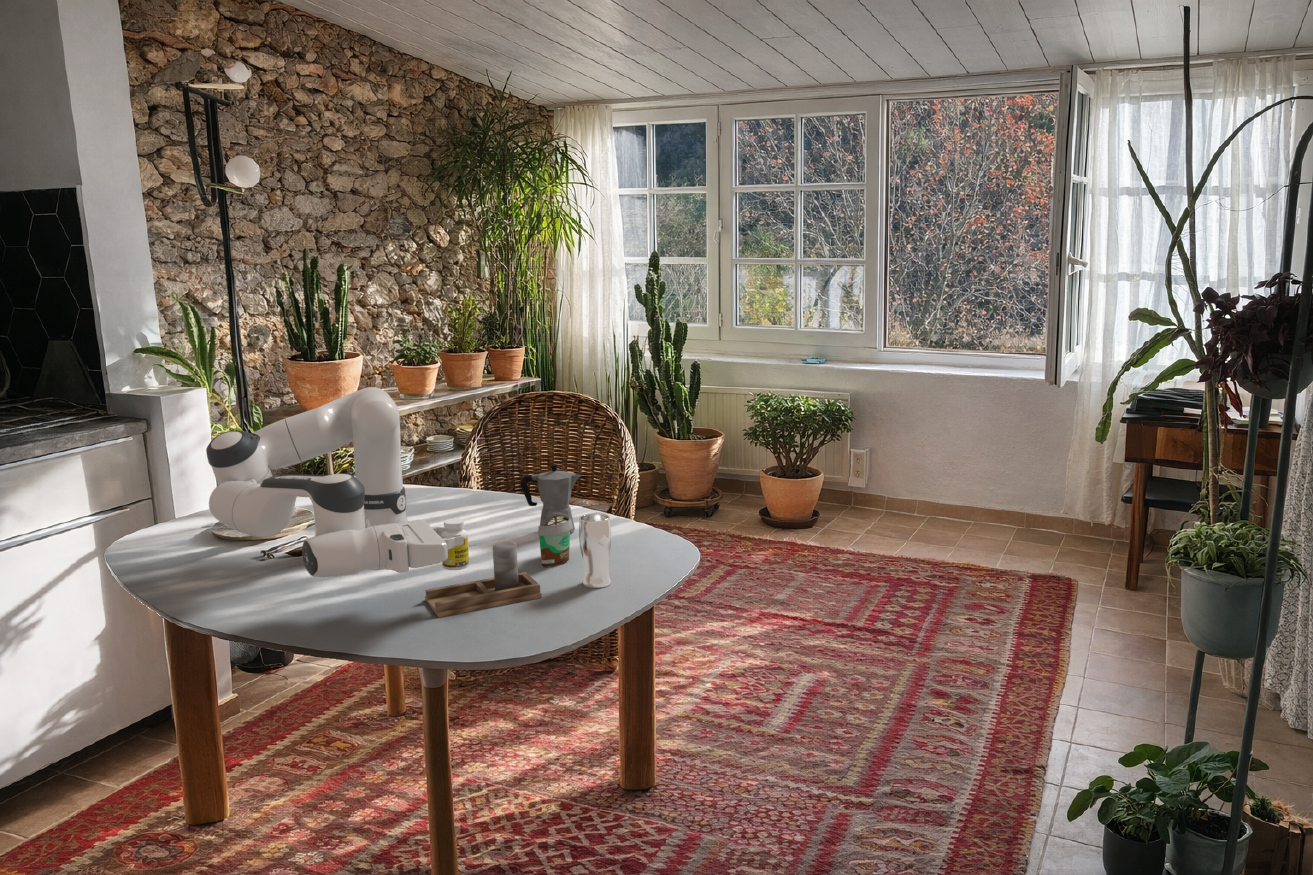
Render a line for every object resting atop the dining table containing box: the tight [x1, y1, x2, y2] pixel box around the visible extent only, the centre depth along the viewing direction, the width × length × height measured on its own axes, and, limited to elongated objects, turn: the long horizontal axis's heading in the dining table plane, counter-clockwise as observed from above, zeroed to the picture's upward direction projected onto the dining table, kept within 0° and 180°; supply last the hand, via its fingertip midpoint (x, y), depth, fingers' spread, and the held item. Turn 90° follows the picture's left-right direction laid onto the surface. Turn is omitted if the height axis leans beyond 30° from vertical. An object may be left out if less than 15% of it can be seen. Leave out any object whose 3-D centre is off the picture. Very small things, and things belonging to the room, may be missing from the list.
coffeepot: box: [519, 463, 581, 535], centre depth 245 cm, size 15×9×18 cm, turn 103°
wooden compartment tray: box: [424, 541, 543, 618], centre depth 201 cm, size 22×11×11 cm, turn 117°
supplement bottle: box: [441, 518, 470, 571], centre depth 197 cm, size 5×5×10 cm
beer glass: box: [578, 512, 612, 589], centre depth 208 cm, size 7×7×15 cm
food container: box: [537, 513, 573, 568], centre depth 224 cm, size 12×6×10 cm, turn 168°
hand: (458, 535), depth 197 cm, fingers closed on supplement bottle, 5 cm apart
